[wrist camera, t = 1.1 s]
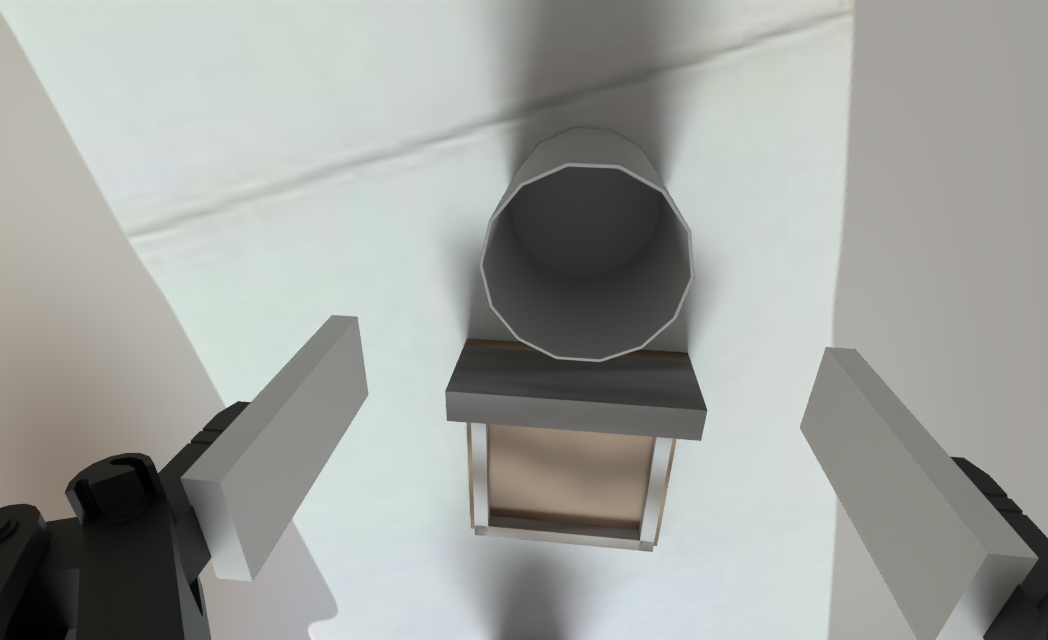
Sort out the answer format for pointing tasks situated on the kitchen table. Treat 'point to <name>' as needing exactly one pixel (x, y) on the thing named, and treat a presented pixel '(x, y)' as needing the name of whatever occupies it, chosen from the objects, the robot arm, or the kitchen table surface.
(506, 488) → the brown flat tray-like piece
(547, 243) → the cup
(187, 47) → the kitchen table surface
